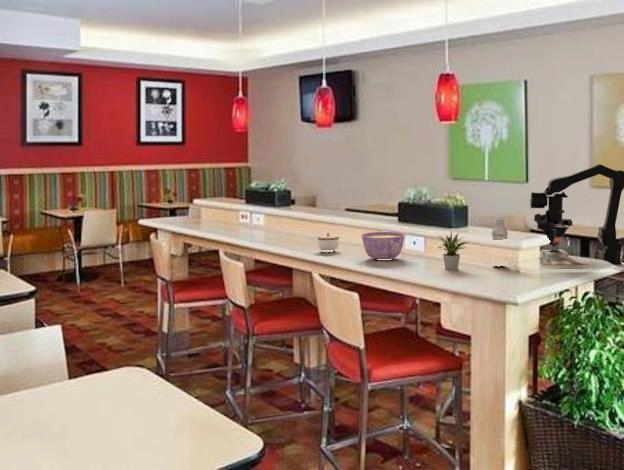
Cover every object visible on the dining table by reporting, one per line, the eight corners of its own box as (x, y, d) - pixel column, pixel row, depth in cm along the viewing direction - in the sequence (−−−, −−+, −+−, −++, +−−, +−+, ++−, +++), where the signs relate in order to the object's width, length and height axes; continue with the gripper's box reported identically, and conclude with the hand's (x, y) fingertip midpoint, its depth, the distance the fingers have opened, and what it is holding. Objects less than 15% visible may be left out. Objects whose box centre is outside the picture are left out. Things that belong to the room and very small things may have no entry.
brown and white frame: (569, 260, 306) (570, 249, 305) (583, 268, 288) (583, 256, 287) (532, 261, 307) (532, 250, 306) (543, 268, 289) (543, 257, 288)
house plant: (441, 273, 285) (441, 234, 283) (426, 268, 298) (426, 230, 296) (472, 271, 289) (472, 232, 287) (457, 265, 302) (457, 228, 300)
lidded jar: (329, 249, 356) (329, 231, 355) (343, 251, 348) (343, 233, 347) (313, 252, 349) (312, 233, 348) (327, 254, 341) (327, 235, 340)
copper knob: (552, 254, 305) (552, 234, 304) (563, 255, 300) (564, 236, 299) (545, 256, 301) (545, 236, 300) (556, 257, 297) (557, 237, 296)
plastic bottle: (495, 265, 300) (495, 219, 298) (509, 266, 296) (510, 219, 293) (488, 267, 296) (488, 220, 293) (503, 269, 291) (503, 221, 289)
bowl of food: (404, 263, 311) (404, 237, 310) (359, 263, 314) (359, 237, 313) (405, 255, 331) (405, 231, 329) (363, 255, 334) (363, 231, 332)
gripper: (549, 205, 310) (549, 239, 312) (526, 208, 298) (526, 244, 300) (573, 206, 302) (572, 242, 304) (550, 210, 290) (549, 247, 292)
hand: (554, 244), depth 300 cm, fingers closed on copper knob, 6 cm apart
